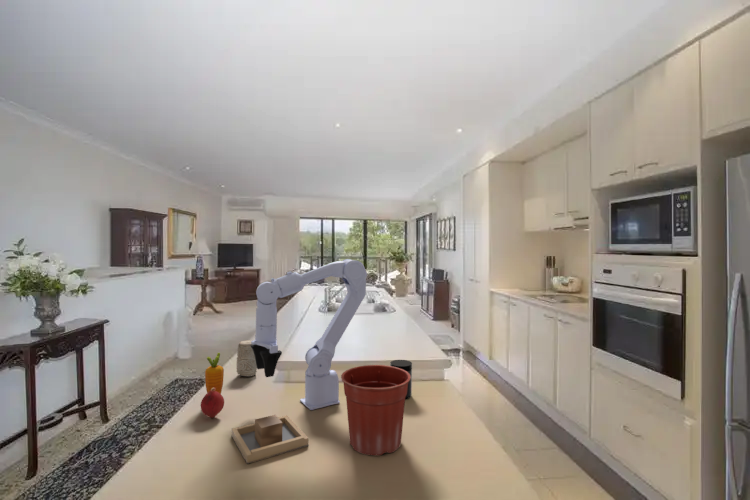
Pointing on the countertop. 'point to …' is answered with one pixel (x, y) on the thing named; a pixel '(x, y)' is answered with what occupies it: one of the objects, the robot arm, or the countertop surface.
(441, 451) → the countertop surface
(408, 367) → the supplement container
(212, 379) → the carrot
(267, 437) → the walnut block
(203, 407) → the onion
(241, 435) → the slate tray
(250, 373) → the carving
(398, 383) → the flower pot
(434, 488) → the countertop surface
